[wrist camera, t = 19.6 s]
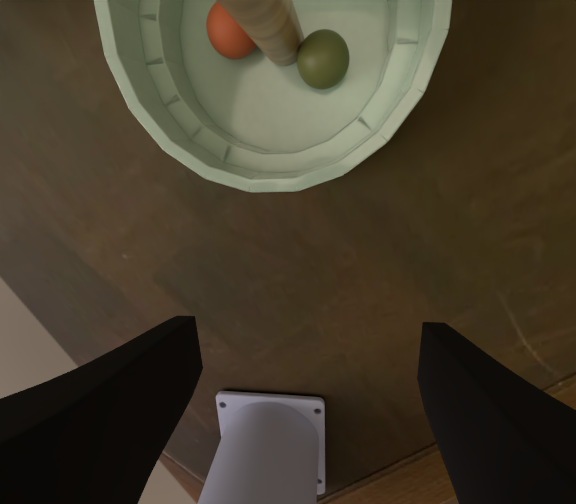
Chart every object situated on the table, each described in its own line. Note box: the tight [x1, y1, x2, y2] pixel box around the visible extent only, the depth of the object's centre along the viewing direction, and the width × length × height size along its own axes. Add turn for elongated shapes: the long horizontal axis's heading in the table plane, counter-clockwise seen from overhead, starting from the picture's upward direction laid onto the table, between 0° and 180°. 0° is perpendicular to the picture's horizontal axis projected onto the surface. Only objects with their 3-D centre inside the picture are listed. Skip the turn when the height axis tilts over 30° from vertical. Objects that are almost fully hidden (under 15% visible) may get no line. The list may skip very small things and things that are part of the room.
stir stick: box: [217, 0, 304, 66], centre depth 11 cm, size 2×2×11 cm
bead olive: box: [297, 29, 350, 90], centre depth 15 cm, size 2×2×2 cm
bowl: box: [94, 0, 452, 192], centre depth 15 cm, size 13×13×5 cm
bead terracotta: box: [206, 1, 256, 59], centre depth 15 cm, size 2×2×2 cm
